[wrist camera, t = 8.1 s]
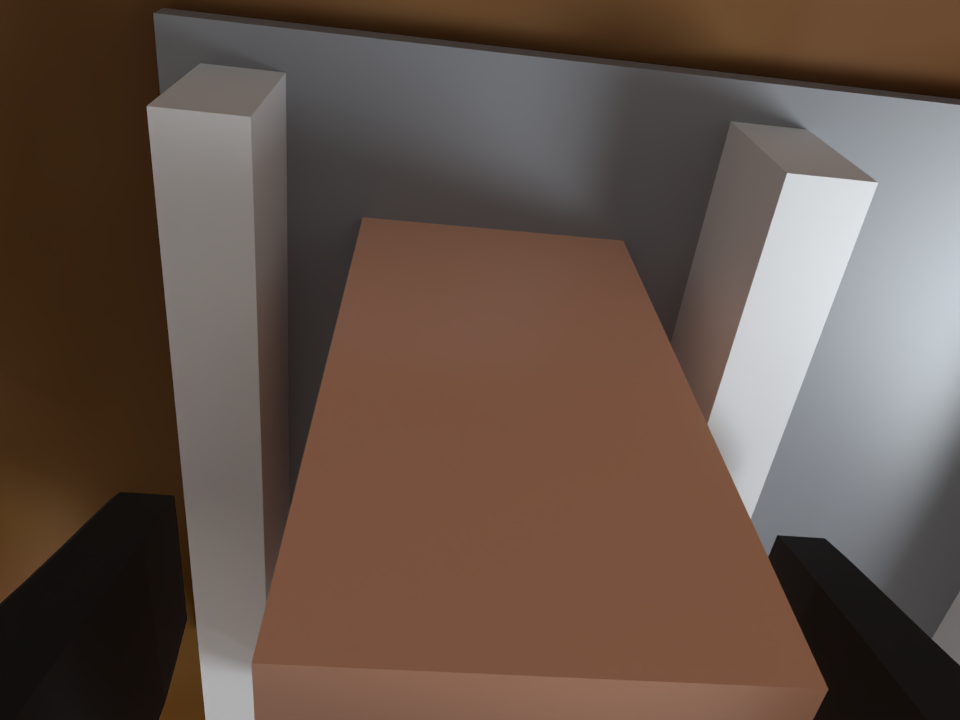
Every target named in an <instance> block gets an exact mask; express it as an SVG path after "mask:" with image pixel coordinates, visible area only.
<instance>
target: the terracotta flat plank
mask: <svg viewBox="0 0 960 720" xmlns="http://www.w3.org/2000/svg"><path fill="white" fill-rule="evenodd" d="M251 665H252V683H253V701H254V718H255V720H813V718H814V716H815V715H816V713H817V711H818V709H819V707H820V705H821V703H822V701H823V699H824V697H825V695H826V693H827V691H828V687H827V685H826V683H825V681H824V678H823V676H822V674H821V672H820V670H819V668H818V665H817V663H816V661H815V659H814V657H813V654H812V652H811V650H810V648H809V646H808V643H807V641H806V639H805V637H804V635H803V633H802V630H801V628H800V626H799V624H798V622H797V619H796V617H795V615H794V613H793V611H792V609H791V606H790V604H789V602H788V600H787V598H786V595H785V593H784V591H783V589H782V587H781V584H780V582H779V580H778V578H777V576H776V574H775V571H774V569H773V567H772V565H771V563H770V560H769V558H768V556H767V554H766V552H765V549H764V547H763V545H762V543H761V541H760V539H759V536H758V534H757V532H756V530H755V528H754V525H753V523H752V521H751V519H750V517H749V515H748V512H747V510H746V508H745V506H744V504H743V501H742V499H741V497H740V495H739V493H738V490H737V488H736V486H735V484H734V482H733V480H732V477H731V475H730V473H729V471H728V469H727V466H726V464H725V462H724V460H723V458H722V455H721V453H720V451H719V449H718V447H717V445H716V442H715V440H714V438H713V436H712V434H711V431H710V429H709V427H708V425H707V423H706V421H705V418H704V416H703V414H702V412H701V410H700V407H699V405H698V403H697V401H696V399H695V396H694V394H693V392H692V390H691V388H690V386H689V383H688V381H687V379H686V377H685V375H684V372H683V370H682V368H681V366H680V364H679V361H678V359H677V357H676V355H675V353H674V351H673V348H672V346H671V344H670V342H669V340H668V337H667V335H666V333H665V331H664V329H663V327H662V324H661V322H660V320H659V318H658V316H657V313H656V311H655V309H654V307H653V305H652V302H651V300H650V298H649V296H648V294H647V292H646V289H645V287H644V285H643V283H642V281H641V278H640V276H639V274H638V272H637V270H636V267H635V265H634V263H633V261H632V259H631V257H630V254H629V252H628V250H627V248H626V246H625V243H624V241H621V240H610V239H599V238H588V237H577V236H566V235H555V234H544V233H532V232H521V231H510V230H499V229H488V228H477V227H466V226H455V225H443V224H432V223H421V222H410V221H399V220H388V219H377V218H366V217H363V218H362V222H361V226H360V230H359V234H358V238H357V242H356V246H355V250H354V254H353V258H352V262H351V266H350V270H349V274H348V278H347V282H346V286H345V290H344V294H343V298H342V302H341V306H340V310H339V314H338V318H337V322H336V326H335V330H334V334H333V338H332V342H331V346H330V350H329V354H328V358H327V362H326V366H325V370H324V374H323V378H322V382H321V386H320V390H319V394H318V398H317V402H316V406H315V410H314V414H313V418H312V422H311V426H310V430H309V434H308V438H307V442H306V446H305V450H304V454H303V458H302V462H301V466H300V470H299V475H298V479H297V483H296V487H295V491H294V495H293V499H292V503H291V507H290V511H289V515H288V519H287V523H286V527H285V531H284V535H283V539H282V543H281V547H280V551H279V555H278V559H277V563H276V567H275V571H274V575H273V579H272V583H271V587H270V591H269V595H268V599H267V603H266V607H265V611H264V615H263V619H262V623H261V627H260V631H259V635H258V639H257V643H256V647H255V651H254V655H253V659H252V663H251Z"/></svg>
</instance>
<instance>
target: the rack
mask: <svg viewBox="0 0 960 720" xmlns="http://www.w3.org/2000/svg"><path fill="white" fill-rule="evenodd" d="M153 19H154V30H155V42H156V53H157V65H158V76H159V87H160V96H158V97H157V98H156V99H155V100H153V101H152V102H151V103H150V104H148V105H147V106H146V107H147V117H148V127H149V138H150V148H151V158H152V169H153V179H154V190H155V200H156V210H157V221H158V231H159V241H160V252H161V262H162V273H163V283H164V293H165V304H166V314H167V325H168V335H169V345H170V356H171V366H172V376H173V387H174V397H175V408H176V418H177V428H178V439H179V449H180V460H181V470H182V480H183V491H184V501H185V511H186V522H187V532H188V543H189V553H190V563H191V574H192V584H193V595H194V605H195V615H196V626H197V636H198V646H199V657H200V667H201V678H202V688H203V698H204V709H205V719H206V720H255V718H254V701H253V683H252V665H251V663H252V659H253V655H254V651H255V647H256V643H257V639H258V635H259V631H260V627H261V623H262V619H263V615H264V611H265V607H266V603H267V599H268V595H269V591H270V587H271V583H272V579H273V575H274V571H275V567H276V563H277V559H278V555H279V551H280V547H281V543H282V539H283V535H284V531H285V527H286V523H287V519H288V515H289V511H290V507H291V503H292V499H293V495H294V491H295V487H296V483H297V479H298V475H299V470H300V466H301V462H302V458H303V454H304V450H305V446H306V442H307V438H308V434H309V430H310V426H311V422H312V418H313V414H314V410H315V406H316V402H317V398H318V394H319V390H320V386H321V382H322V378H323V374H324V370H325V366H326V362H327V358H328V354H329V350H330V346H331V342H332V338H333V334H334V330H335V326H336V322H337V318H338V314H339V310H340V306H341V302H342V298H343V294H344V290H345V286H346V282H347V278H348V274H349V270H350V266H351V262H352V258H353V254H354V250H355V246H356V242H357V238H358V234H359V230H360V226H361V222H362V218H363V217H366V218H377V219H388V220H399V221H410V222H421V223H432V224H443V225H455V226H466V227H477V228H488V229H499V230H510V231H521V232H532V233H544V234H555V235H566V236H577V237H588V238H599V239H610V240H621V241H624V243H625V246H626V248H627V250H628V252H629V254H630V257H631V259H632V261H633V263H634V265H635V267H636V270H637V272H638V274H639V276H640V278H641V281H642V283H643V285H644V287H645V289H646V292H647V294H648V296H649V298H650V300H651V302H652V305H653V307H654V309H655V311H656V313H657V316H658V318H659V320H660V322H661V324H662V327H663V329H664V331H665V333H666V335H667V337H668V340H669V342H670V344H671V346H672V348H673V351H674V353H675V355H676V357H677V359H678V361H679V364H680V366H681V368H682V370H683V372H684V375H685V377H686V379H687V381H688V383H689V386H690V388H691V390H692V392H693V394H694V396H695V399H696V401H697V403H698V405H699V407H700V410H701V412H702V414H703V416H704V418H705V421H706V423H707V425H708V427H709V429H710V431H711V434H712V436H713V438H714V440H715V442H716V445H717V447H718V449H719V451H720V453H721V455H722V458H723V460H724V462H725V464H726V466H727V469H728V471H729V473H730V475H731V477H732V480H733V482H734V484H735V486H736V488H737V490H738V493H739V495H740V497H741V499H742V501H743V504H744V506H745V508H746V510H747V512H748V515H749V517H750V519H751V521H752V523H753V525H754V528H755V530H756V532H757V534H758V536H759V539H760V541H761V543H762V545H763V547H764V549H765V552H766V554H767V556H769V554H770V552H771V549H772V547H773V544H774V542H775V539H776V537H777V535H782V536H798V537H813V538H825V539H826V540H828V541H829V542H830V543H831V544H832V545H833V546H834V547H835V548H837V549H838V550H839V551H840V552H841V553H842V554H843V555H844V556H845V557H846V558H848V559H849V560H850V561H851V562H852V563H853V564H854V565H855V566H856V567H857V568H858V569H859V570H860V571H861V572H862V573H864V574H865V575H866V576H867V577H868V578H869V579H870V580H871V581H872V582H873V583H874V584H875V585H876V586H877V587H878V588H879V589H880V590H881V591H882V592H883V593H884V594H885V595H886V596H887V597H889V598H890V599H891V600H892V601H893V602H894V603H895V604H896V605H897V606H898V607H899V608H900V609H901V610H902V611H903V612H904V613H905V614H906V615H907V616H908V617H909V618H910V619H911V620H912V621H913V622H915V623H916V624H917V625H918V626H919V627H920V628H921V629H922V630H923V631H924V632H925V633H926V634H927V635H928V636H929V637H930V638H931V639H932V640H933V641H934V642H935V643H937V644H938V645H939V646H940V647H941V648H942V649H943V650H944V651H945V652H946V653H947V654H948V655H949V656H950V657H951V658H952V659H953V660H955V661H956V662H957V663H958V664H959V665H960V99H954V98H945V97H937V96H928V95H919V94H910V93H902V92H893V91H884V90H876V89H867V88H858V87H849V86H841V85H832V84H823V83H814V82H806V81H797V80H788V79H780V78H771V77H762V76H753V75H745V74H736V73H727V72H719V71H710V70H701V69H692V68H684V67H675V66H666V65H658V64H649V63H640V62H631V61H623V60H614V59H605V58H597V57H588V56H579V55H570V54H562V53H553V52H544V51H536V50H527V49H518V48H509V47H501V46H492V45H483V44H475V43H466V42H457V41H448V40H440V39H431V38H422V37H414V36H405V35H396V34H387V33H379V32H370V31H361V30H353V29H344V28H335V27H326V26H318V25H309V24H300V23H292V22H283V21H274V20H265V19H257V18H248V17H239V16H231V15H222V14H213V13H204V12H196V11H187V10H178V9H169V8H162V9H160V10H158V11H156V12H154V13H153Z"/></svg>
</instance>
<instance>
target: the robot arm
mask: <svg viewBox="0 0 960 720" xmlns="http://www.w3.org/2000/svg"><path fill="white" fill-rule="evenodd" d="M768 558H769V560H770V563H771V565H772V567H773V569H774V571H775V574H776V576H777V578H778V580H779V582H780V584H781V587H782V589H783V591H784V593H785V595H786V598H787V600H788V602H789V604H790V606H791V609H792V611H793V613H794V615H795V617H796V619H797V622H798V624H799V626H800V628H801V630H802V633H803V635H804V637H805V639H806V641H807V643H808V646H809V648H810V650H811V652H812V654H813V657H814V659H815V661H816V663H817V665H818V668H819V670H820V672H821V674H822V676H823V678H824V681H825V683H826V685H827V687H828V691H827V693H826V695H825V697H824V699H823V701H822V703H821V705H820V707H819V709H818V711H817V713H816V715H815V716H814V718H813V720H960V665H959V664H958V663H957V662H956V661H955V660H953V659H952V658H951V657H950V656H949V655H948V654H947V653H946V652H945V651H944V650H943V649H942V648H941V647H940V646H939V645H938V644H937V643H935V642H934V641H933V640H932V639H931V638H930V637H929V636H928V635H927V634H926V633H925V632H924V631H923V630H922V629H921V628H920V627H919V626H918V625H917V624H916V623H915V622H913V621H912V620H911V619H910V618H909V617H908V616H907V615H906V614H905V613H904V612H903V611H902V610H901V609H900V608H899V607H898V606H897V605H896V604H895V603H894V602H893V601H892V600H891V599H890V598H889V597H887V596H886V595H885V594H884V593H883V592H882V591H881V590H880V589H879V588H878V587H877V586H876V585H875V584H874V583H873V582H872V581H871V580H870V579H869V578H868V577H867V576H866V575H865V574H864V573H862V572H861V571H860V570H859V569H858V568H857V567H856V566H855V565H854V564H853V563H852V562H851V561H850V560H849V559H848V558H846V557H845V556H844V555H843V554H842V553H841V552H840V551H839V550H838V549H837V548H835V547H834V546H833V545H832V544H831V543H830V542H829V541H828V540H826V539H825V538H813V537H798V536H782V535H777V537H776V539H775V542H774V544H773V547H772V549H771V552H770V554H769V556H768ZM186 621H187V614H186V604H185V595H184V585H183V575H182V566H181V556H180V547H179V537H178V527H177V518H176V508H175V499H174V496H172V495H156V494H141V493H126V492H119V493H118V494H117V495H116V496H114V497H113V498H112V499H110V500H109V501H108V502H107V503H106V504H105V505H104V506H103V507H102V508H101V509H100V510H99V511H98V512H97V513H96V514H95V515H94V516H93V517H92V518H91V519H90V520H89V521H87V522H86V523H85V524H84V525H83V526H82V527H81V528H80V529H79V530H78V531H77V532H76V533H75V534H74V535H73V536H72V537H71V538H70V539H69V540H68V541H67V542H66V543H65V544H64V545H63V546H62V547H61V548H60V549H58V550H57V551H56V552H55V553H54V554H53V555H52V556H51V557H50V558H49V559H48V560H47V561H46V562H45V563H44V564H43V565H42V566H41V567H39V568H38V569H37V570H36V571H35V572H34V573H33V574H32V575H31V576H30V577H29V578H28V579H27V580H26V581H25V582H24V583H22V584H21V585H20V586H19V587H18V588H17V589H16V590H15V591H14V592H13V593H11V594H10V595H9V596H8V597H7V598H6V599H5V600H4V601H3V602H2V603H0V720H159V717H160V715H161V712H162V709H163V707H164V704H165V700H166V697H167V693H168V690H169V686H170V682H171V679H172V675H173V671H174V668H175V664H176V660H177V656H178V652H179V648H180V644H181V640H182V636H183V633H184V629H185V625H186Z"/></svg>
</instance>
